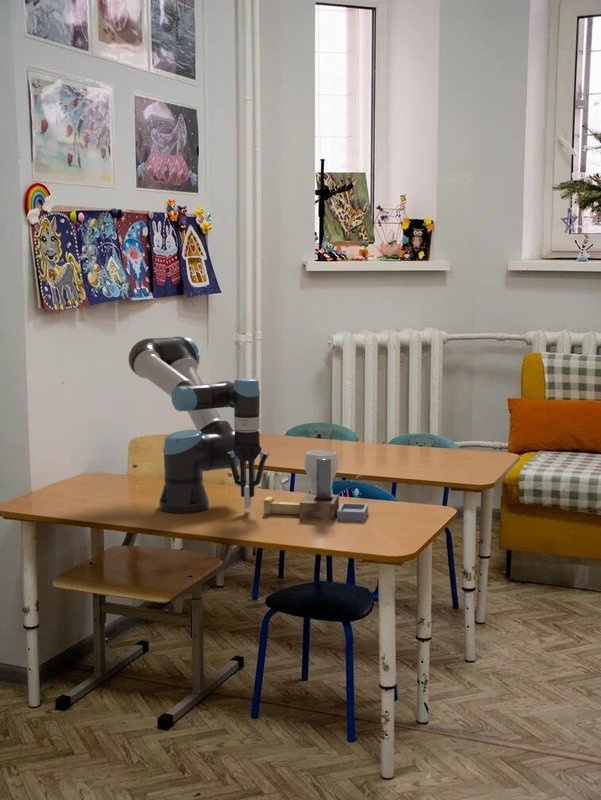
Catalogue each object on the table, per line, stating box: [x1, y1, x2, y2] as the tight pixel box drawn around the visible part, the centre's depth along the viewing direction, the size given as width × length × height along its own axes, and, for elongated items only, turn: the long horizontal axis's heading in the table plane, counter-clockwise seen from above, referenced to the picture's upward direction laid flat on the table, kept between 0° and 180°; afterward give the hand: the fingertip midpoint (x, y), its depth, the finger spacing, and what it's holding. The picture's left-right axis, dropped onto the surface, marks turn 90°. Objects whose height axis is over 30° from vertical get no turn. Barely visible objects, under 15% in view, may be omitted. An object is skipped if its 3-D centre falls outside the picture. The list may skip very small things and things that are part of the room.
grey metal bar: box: [316, 458, 331, 501], centre depth 298 cm, size 4×4×17 cm
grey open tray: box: [336, 502, 369, 522], centre depth 297 cm, size 8×10×3 cm
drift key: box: [263, 496, 300, 516], centre depth 301 cm, size 12×5×4 cm, turn 80°
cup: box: [304, 449, 339, 494], centre depth 318 cm, size 11×11×15 cm
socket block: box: [299, 492, 340, 522], centre depth 299 cm, size 10×12×5 cm
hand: (247, 507), depth 303 cm, fingers closed
